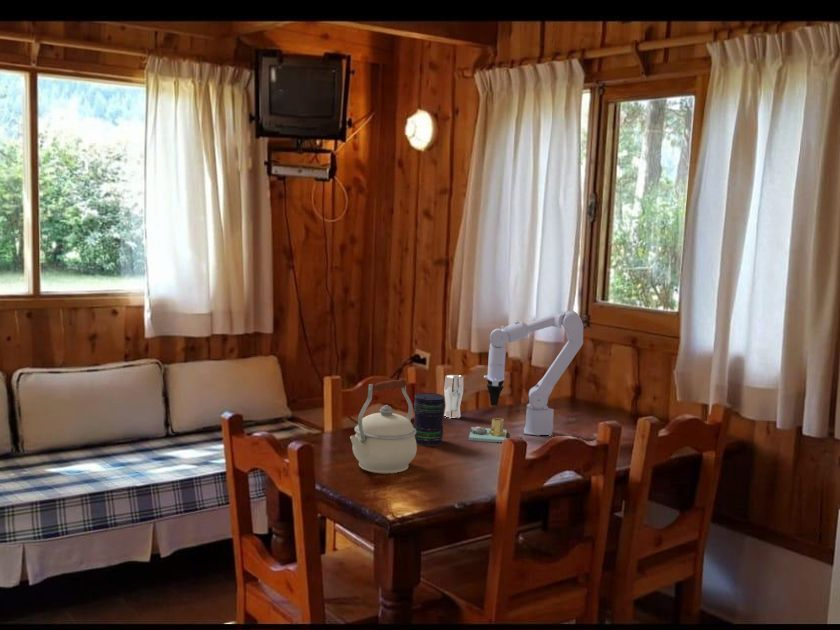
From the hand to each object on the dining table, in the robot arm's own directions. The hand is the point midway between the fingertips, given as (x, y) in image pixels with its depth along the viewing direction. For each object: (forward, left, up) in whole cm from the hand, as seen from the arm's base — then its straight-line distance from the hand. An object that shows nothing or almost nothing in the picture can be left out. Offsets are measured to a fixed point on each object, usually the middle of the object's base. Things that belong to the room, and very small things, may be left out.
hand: (494, 402), depth 285 cm
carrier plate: (+1, +10, -9) cm, 14 cm away
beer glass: (+15, -14, -10) cm, 23 cm away
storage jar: (+20, +23, -10) cm, 32 cm away
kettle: (+30, +55, -10) cm, 63 cm away
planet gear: (-2, +10, -8) cm, 13 cm away
